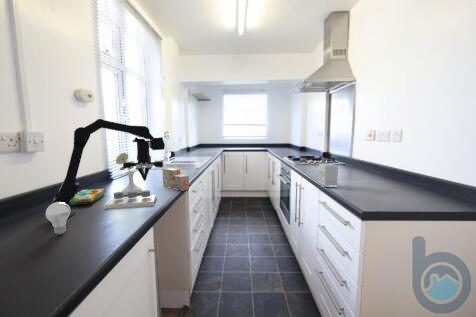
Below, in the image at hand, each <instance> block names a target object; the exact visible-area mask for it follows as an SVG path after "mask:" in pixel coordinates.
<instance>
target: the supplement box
mask: <svg viewBox="0 0 476 317" xmlns="http://www.w3.org/2000/svg"><path fill="white" fill-rule="evenodd" d="M338 169H339V165H338V164H335V163H318V183H320V184H322V185H337V186H338V179H339V178H338V171H339V170H338Z"/></svg>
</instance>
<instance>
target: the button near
mask: <svg viewBox="0 0 476 317" xmlns="http://www.w3.org/2000/svg"><path fill="white" fill-rule="evenodd" d="M123 197H125V195H124V194H123V192H121V191H117V192H114V193H113V198H114V199H120V198H123Z"/></svg>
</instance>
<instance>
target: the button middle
mask: <svg viewBox="0 0 476 317" xmlns="http://www.w3.org/2000/svg"><path fill="white" fill-rule="evenodd" d="M137 196H138V194H137V191H130V192H128V195H127V197H128V198H135V197H137Z"/></svg>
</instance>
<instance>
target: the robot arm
mask: <svg viewBox="0 0 476 317" xmlns="http://www.w3.org/2000/svg"><path fill="white" fill-rule="evenodd" d="M100 129H106V130H112V131H117V132H122V133H127V134H129V135H132V136H136V137H135V138H134V139H133V140H132V143H136V149H137V150H136V151H137V153H136V161H137V162H134V161H131V160H130V161H129V160H127V161H126V162H124V163H122V167H123V168H126V169H127V168H128V169H129V168H130V167H131V166H134V167H136V168H135V170H136V171H138V172H139V174H140V175H141V178H142V180H143V182H145V181H147V178H148V174H149V171H150V170H152V168H153V166H154V167H155V168H162V167H164V160H160V159H159V160H155V161H152V156H151V155H150V149H151V150H152V151H163V150H164V149H165V148H166V147H165V145H166V144H165V140H164V138H163V136H158V137H154V136H153V135H152V134H151V132H150V129H149V127H148V126H146V125H145V126H144V125H130V124H129V125H128V124H125V123H119V122H115V121H109V120H105V119H102V118H99V119H96V120H95V121H93V122H92V123H90V124H88V125H87V126H85V127H84V126H81V127H77V128H76V129H74V132H73V148H72V151H71V155H70V159H69V160H70V161H69V163H68V167H67V171H66V175H65V178H64V180H63V182H62V183H61V185H60V187H59V190H58V193H57V194H55V195H54V197H53V199H52V204H53V203H55V202H64V203H66V204H68V205H69V207H70V210H71V212H70V215H69V217H68V218H67V220H68V219H69V218H71V217H73V216H74V215H75V214H76V212H72V204H70V200H71V199H72V198H74V196H75V194H77V193H78V190H79V187H80V182H77V180H76V179H77V175H78V172H79V167H80V164H81V160H82V156H83V151H84V149H85V148H86V145H87V143H88V142H89V139H90V137H91V135H92V134H93V133H95V132H97V131H98V130H100Z"/></svg>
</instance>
